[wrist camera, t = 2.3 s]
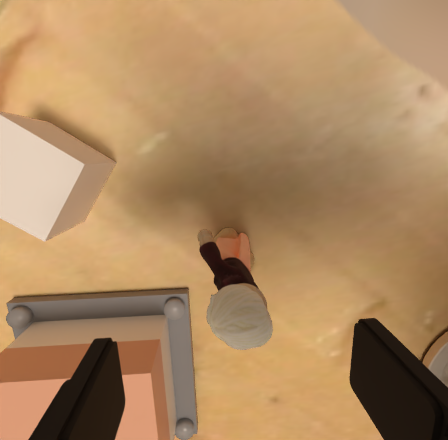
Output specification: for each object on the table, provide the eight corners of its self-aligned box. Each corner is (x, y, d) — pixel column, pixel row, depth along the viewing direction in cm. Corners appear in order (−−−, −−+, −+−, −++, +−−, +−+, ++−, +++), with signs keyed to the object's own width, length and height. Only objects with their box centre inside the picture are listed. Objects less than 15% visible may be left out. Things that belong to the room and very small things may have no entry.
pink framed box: (188, 288, 26) (178, 345, 18) (197, 424, 29) (192, 521, 22) (14, 297, 25) (-75, 360, 17) (46, 435, 29) (-16, 538, 21)
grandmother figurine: (272, 259, 25) (330, 356, 13) (242, 286, 26) (271, 404, 14) (214, 202, 24) (218, 249, 12) (184, 231, 24) (157, 308, 12)
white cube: (49, 121, 22) (-9, 108, 16) (117, 162, 23) (85, 163, 17) (19, 185, 23) (-46, 194, 17) (85, 221, 24) (44, 242, 18)
